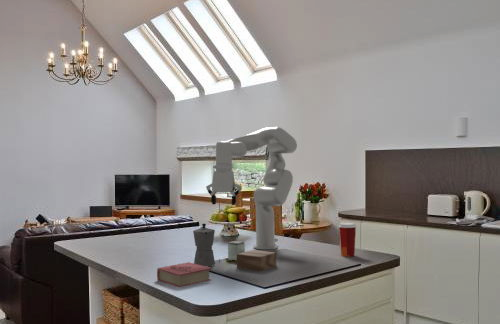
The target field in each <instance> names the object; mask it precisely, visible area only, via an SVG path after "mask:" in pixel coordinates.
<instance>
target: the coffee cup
mask: <svg viewBox="0 0 500 324" xmlns="http://www.w3.org/2000/svg"><path fill="white" fill-rule="evenodd" d="M337 227H338V228H339V230H338V231H339V241H340V242H339V243H340V253H341V254H340V255H341V256H342V257H347V258H349V257H350V258H352V257H354V256H355V251H356V249H355V248H356V232H357V226H356V223H354V222H340V223H339V225H338V226H337Z"/></svg>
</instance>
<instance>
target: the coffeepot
mask: <svg viewBox="0 0 500 324" xmlns="http://www.w3.org/2000/svg"><path fill="white" fill-rule="evenodd" d="M206 224H207V223H202V224H201V227H200V228H197V229H194V230H193V239H194V243H195V244H194V245H195V247H196V250H195V255H194V260H193V263H194V264H198V265H202V266H211V267H213V266H212V265H214V264H215V265H216V260H215V254H214V251H213V245H214V239H215V232H216V231H215V229H212V228H209V227H206V226H207V225H206ZM215 265H214V266H215Z"/></svg>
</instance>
